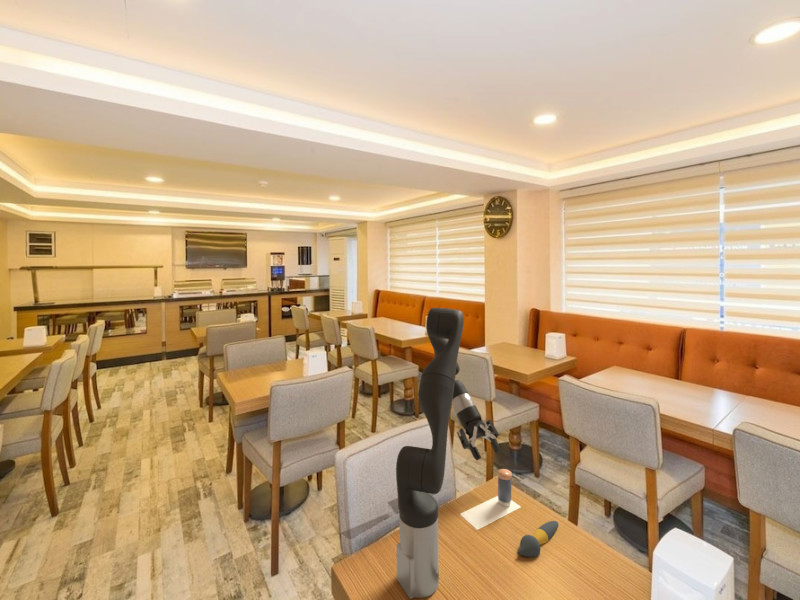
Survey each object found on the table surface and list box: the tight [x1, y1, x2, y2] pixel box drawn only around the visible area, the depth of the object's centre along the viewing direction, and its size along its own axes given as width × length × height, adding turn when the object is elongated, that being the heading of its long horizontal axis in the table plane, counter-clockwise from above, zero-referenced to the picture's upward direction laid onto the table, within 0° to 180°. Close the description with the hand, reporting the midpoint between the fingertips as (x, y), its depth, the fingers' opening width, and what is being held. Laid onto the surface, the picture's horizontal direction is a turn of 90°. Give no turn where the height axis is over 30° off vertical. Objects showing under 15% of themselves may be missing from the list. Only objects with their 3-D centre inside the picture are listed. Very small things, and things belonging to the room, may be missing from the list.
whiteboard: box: [459, 495, 522, 531], centre depth 108 cm, size 20×9×1 cm, turn 120°
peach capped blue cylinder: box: [497, 468, 513, 507], centre depth 110 cm, size 4×4×10 cm
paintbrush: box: [516, 520, 559, 558], centre depth 97 cm, size 20×5×5 cm, turn 135°
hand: (488, 455), depth 116 cm, fingers open, 8 cm apart
